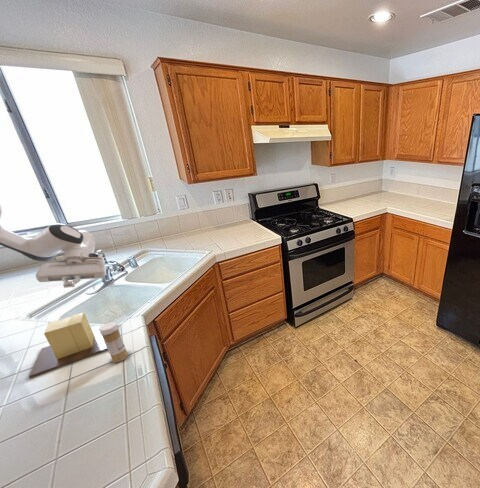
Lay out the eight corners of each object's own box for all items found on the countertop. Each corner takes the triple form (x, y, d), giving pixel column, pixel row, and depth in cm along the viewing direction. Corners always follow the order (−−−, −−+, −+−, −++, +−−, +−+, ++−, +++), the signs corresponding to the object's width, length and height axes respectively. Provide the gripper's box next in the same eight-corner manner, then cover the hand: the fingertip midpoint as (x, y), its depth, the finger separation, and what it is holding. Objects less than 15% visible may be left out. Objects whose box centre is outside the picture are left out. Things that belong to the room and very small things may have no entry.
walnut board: (29, 378, 84) (28, 376, 84) (42, 349, 96) (41, 348, 96) (114, 347, 96) (113, 345, 95) (116, 326, 108) (115, 324, 108)
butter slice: (80, 351, 94) (68, 325, 90) (83, 340, 99) (72, 315, 96) (92, 347, 95) (81, 322, 92) (94, 336, 101) (84, 312, 98)
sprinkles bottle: (124, 351, 93) (111, 320, 89) (131, 355, 91) (119, 323, 87) (109, 360, 90) (95, 328, 85) (116, 364, 88) (103, 331, 83)
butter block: (57, 359, 90) (43, 333, 87) (61, 347, 96) (49, 322, 92) (79, 351, 94) (67, 325, 90) (82, 340, 99) (71, 316, 95)
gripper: (39, 256, 102) (26, 283, 93) (106, 254, 112) (101, 278, 103) (44, 268, 105) (33, 295, 96) (109, 264, 115) (104, 288, 107)
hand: (68, 286), depth 100 cm, fingers closed
